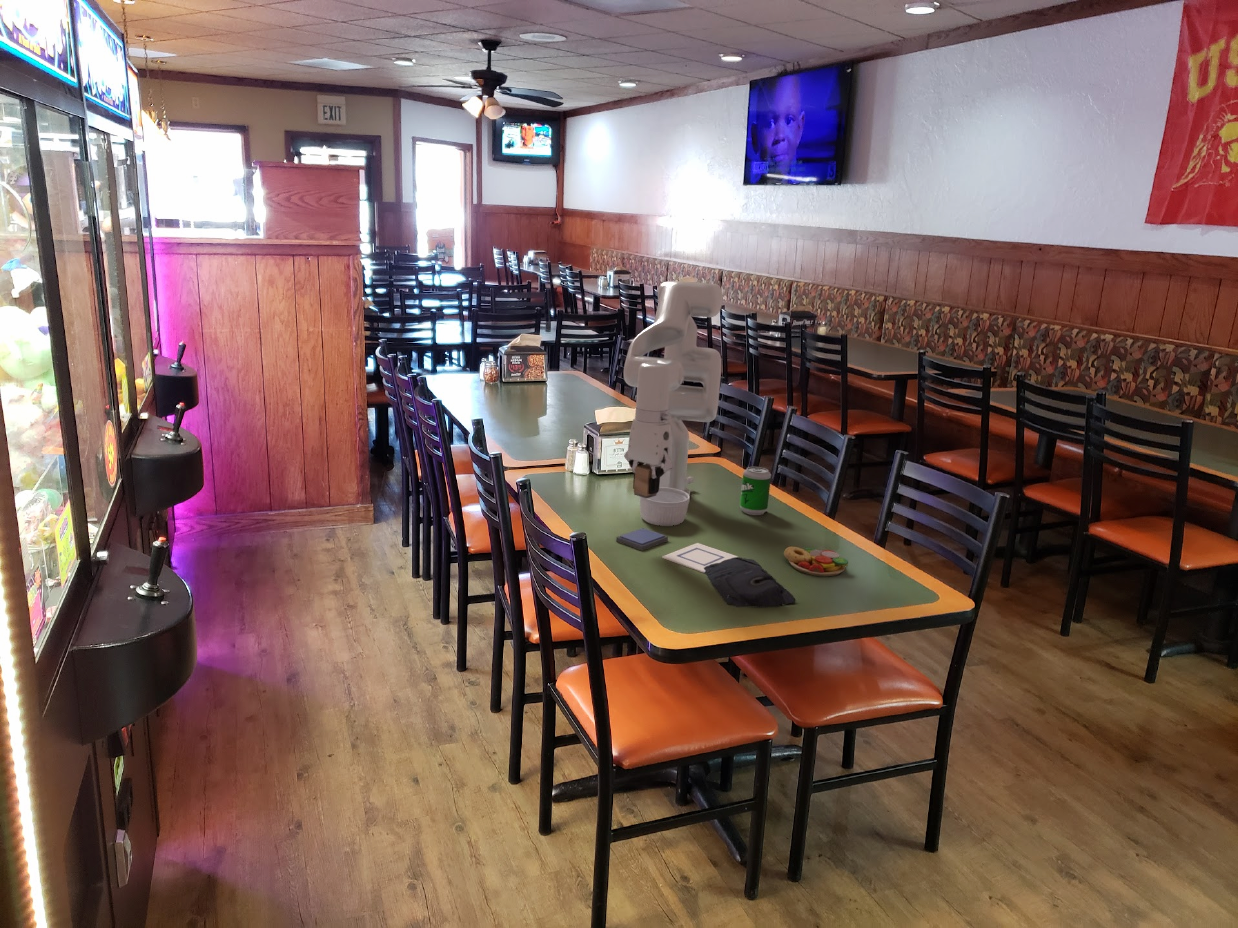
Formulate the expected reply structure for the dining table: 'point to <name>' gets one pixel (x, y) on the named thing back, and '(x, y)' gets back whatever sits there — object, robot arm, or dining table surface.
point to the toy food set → (815, 561)
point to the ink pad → (642, 539)
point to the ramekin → (665, 507)
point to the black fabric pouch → (747, 584)
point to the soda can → (755, 490)
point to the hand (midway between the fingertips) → (645, 490)
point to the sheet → (698, 556)
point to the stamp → (643, 481)
